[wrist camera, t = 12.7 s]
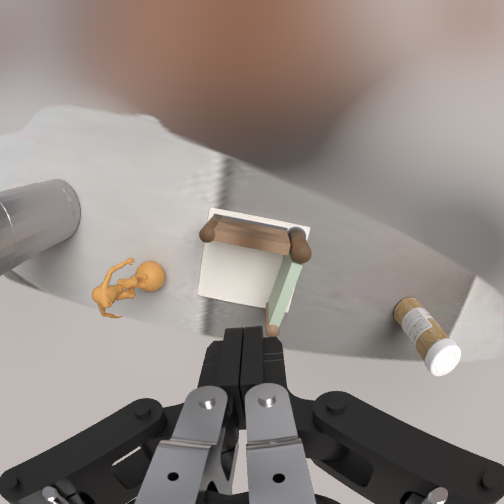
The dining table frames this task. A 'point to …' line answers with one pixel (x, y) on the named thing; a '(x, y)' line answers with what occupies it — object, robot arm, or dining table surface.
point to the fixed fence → (256, 237)
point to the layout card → (242, 265)
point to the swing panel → (281, 294)
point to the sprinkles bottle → (427, 337)
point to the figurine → (128, 284)
